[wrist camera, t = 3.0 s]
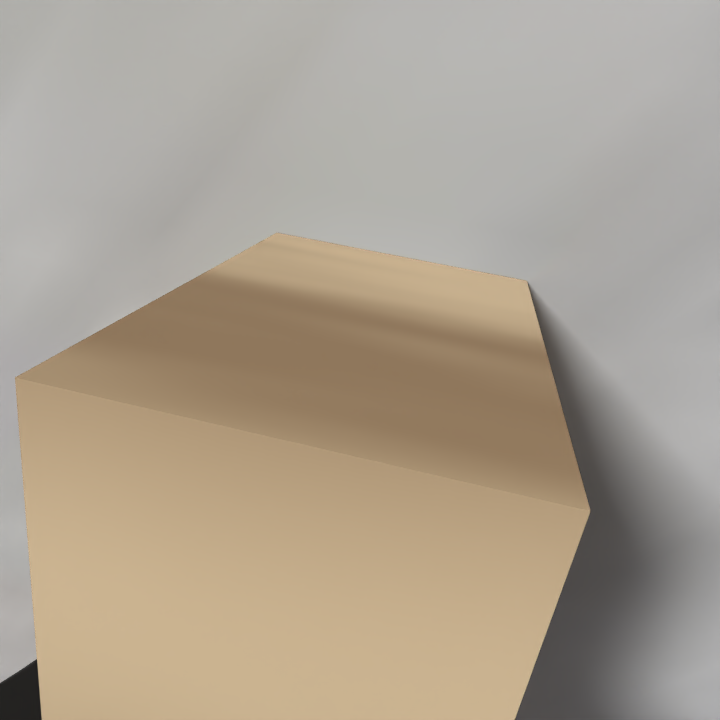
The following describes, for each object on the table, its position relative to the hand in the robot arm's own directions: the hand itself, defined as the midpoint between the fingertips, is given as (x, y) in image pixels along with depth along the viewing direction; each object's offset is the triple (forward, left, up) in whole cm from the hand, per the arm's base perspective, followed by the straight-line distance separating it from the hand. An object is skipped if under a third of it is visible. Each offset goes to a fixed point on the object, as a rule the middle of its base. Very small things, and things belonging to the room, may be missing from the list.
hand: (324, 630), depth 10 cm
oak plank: (0, 0, -2) cm, 2 cm away
